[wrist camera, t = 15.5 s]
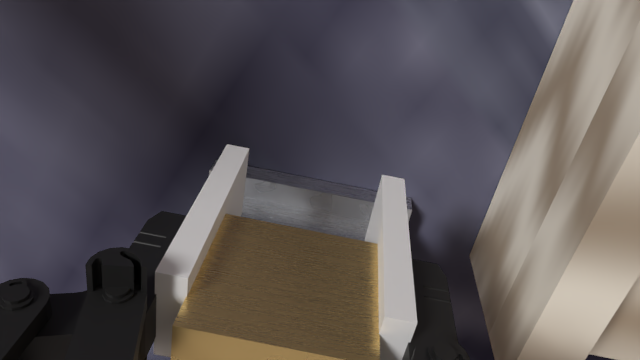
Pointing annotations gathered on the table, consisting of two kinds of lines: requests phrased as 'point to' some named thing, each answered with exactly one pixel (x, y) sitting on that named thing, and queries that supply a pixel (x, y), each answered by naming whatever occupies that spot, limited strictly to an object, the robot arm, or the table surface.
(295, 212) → the stand
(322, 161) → the table surface
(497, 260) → the beige channeled block
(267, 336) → the wooden block
